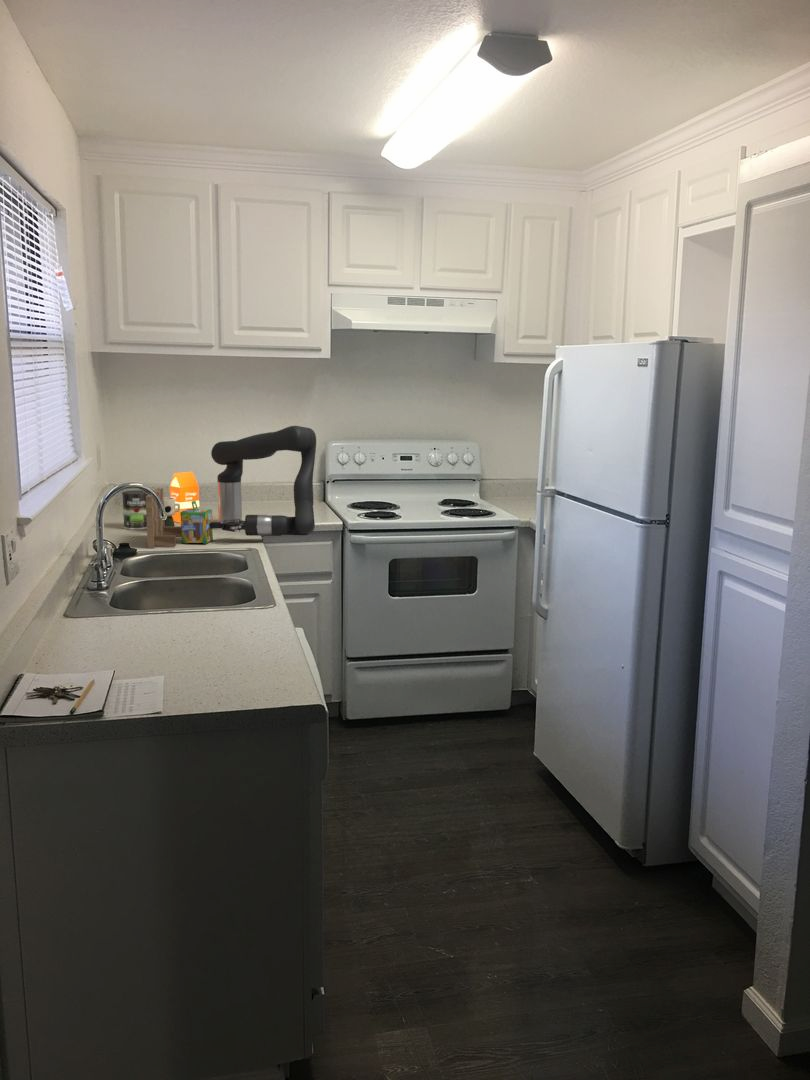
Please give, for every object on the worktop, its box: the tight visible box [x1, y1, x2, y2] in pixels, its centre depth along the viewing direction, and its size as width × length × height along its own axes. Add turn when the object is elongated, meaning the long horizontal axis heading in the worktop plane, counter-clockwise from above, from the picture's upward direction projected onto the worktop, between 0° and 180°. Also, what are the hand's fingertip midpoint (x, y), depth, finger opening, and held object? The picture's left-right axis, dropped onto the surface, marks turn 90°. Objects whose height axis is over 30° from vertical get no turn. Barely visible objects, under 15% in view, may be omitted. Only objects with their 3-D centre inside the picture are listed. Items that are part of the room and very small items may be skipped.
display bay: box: [146, 487, 182, 549], centre depth 308 cm, size 22×9×18 cm, turn 5°
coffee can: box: [121, 489, 148, 531], centre depth 337 cm, size 10×10×14 cm
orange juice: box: [169, 471, 200, 524], centre depth 352 cm, size 8×9×20 cm
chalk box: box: [180, 500, 214, 545], centre depth 309 cm, size 9×9×15 cm
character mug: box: [164, 496, 180, 527], centre depth 327 cm, size 11×7×13 cm, turn 90°
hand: (210, 525), depth 310 cm, fingers closed
